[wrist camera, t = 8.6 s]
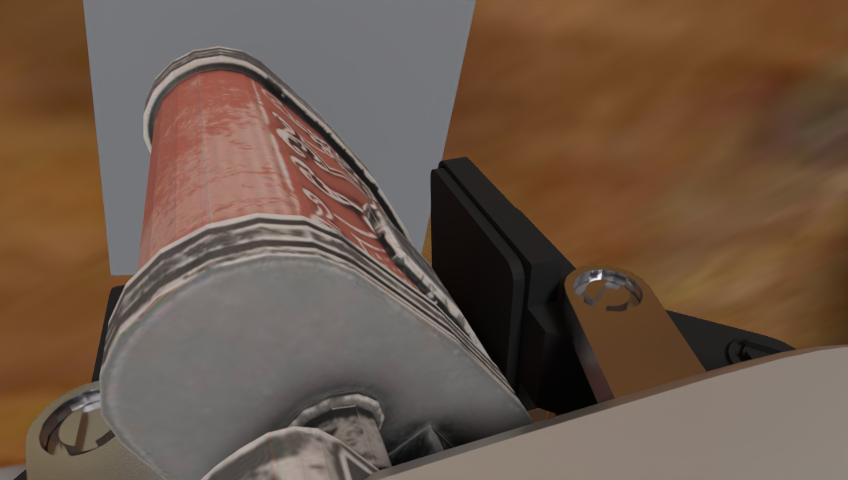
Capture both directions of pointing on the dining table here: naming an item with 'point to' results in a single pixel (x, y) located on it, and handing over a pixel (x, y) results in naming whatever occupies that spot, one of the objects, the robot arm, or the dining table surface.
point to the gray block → (301, 70)
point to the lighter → (281, 300)
